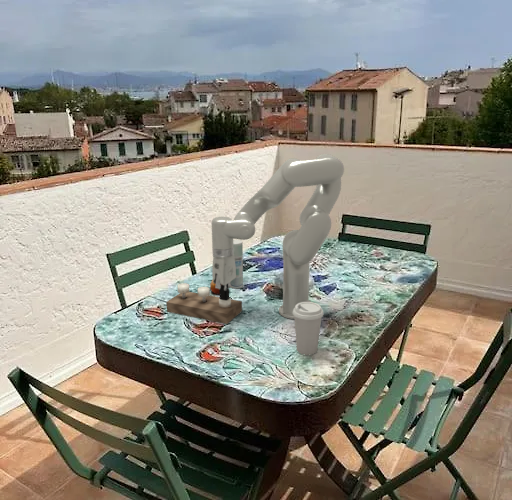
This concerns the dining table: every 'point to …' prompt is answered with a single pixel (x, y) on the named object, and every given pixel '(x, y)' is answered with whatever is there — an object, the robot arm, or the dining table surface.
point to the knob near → (225, 303)
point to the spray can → (238, 264)
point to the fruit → (213, 289)
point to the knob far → (183, 289)
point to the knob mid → (203, 293)
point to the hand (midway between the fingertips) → (224, 299)
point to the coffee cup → (307, 326)
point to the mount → (203, 307)
